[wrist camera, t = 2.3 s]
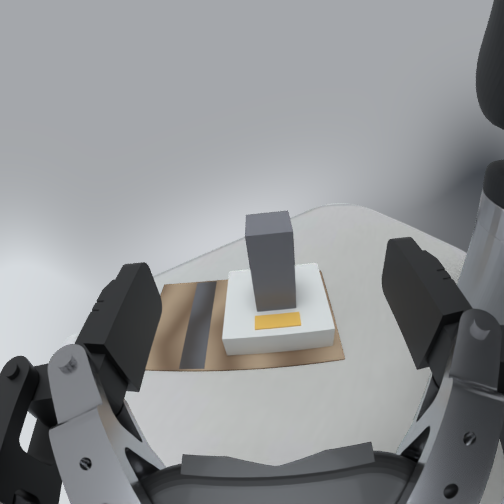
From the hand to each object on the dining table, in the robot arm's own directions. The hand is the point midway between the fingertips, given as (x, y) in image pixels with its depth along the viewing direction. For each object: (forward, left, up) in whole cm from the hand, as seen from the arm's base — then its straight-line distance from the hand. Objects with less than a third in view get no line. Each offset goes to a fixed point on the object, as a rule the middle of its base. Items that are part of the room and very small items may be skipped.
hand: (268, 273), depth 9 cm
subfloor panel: (+5, -19, -21) cm, 29 cm away
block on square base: (0, -19, -21) cm, 28 cm away
